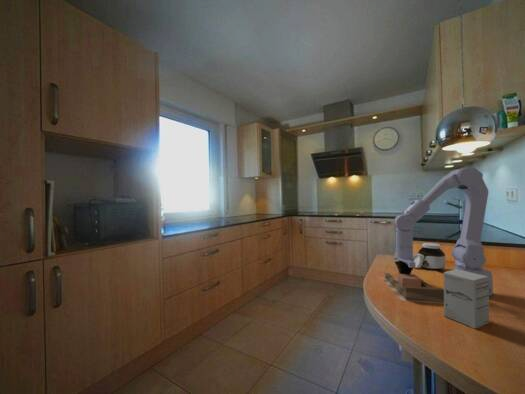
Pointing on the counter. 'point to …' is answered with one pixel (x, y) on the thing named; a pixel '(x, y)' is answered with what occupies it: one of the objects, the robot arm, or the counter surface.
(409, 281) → the block
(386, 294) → the counter surface
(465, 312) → the supplement box
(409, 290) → the channel
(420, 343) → the counter surface
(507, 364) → the counter surface
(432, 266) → the spread jar
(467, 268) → the robot arm
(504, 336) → the counter surface
